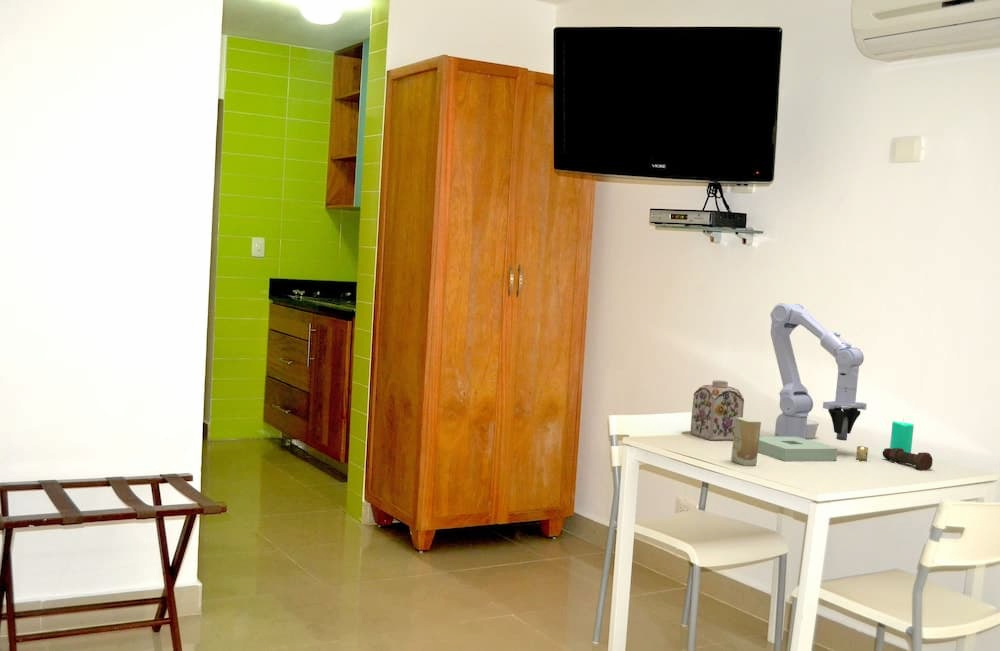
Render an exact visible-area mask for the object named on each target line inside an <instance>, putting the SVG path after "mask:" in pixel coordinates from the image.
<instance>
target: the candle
mask: <svg viewBox="0 0 1000 651" xmlns="http://www.w3.org/2000/svg"><path fill="white" fill-rule="evenodd" d="M891 424H892V426H891V431H890V432H891V433H890V443H889V444H890V446H889V448H890V449H893V448H902V449H903V450H904V452H908V453H912V446H913V436H914V435H913V433H914V426H915V425H914V423H908V422H904V418H902V422H900V421H896V420H895V421H894V420H893V421H892V423H891Z"/></svg>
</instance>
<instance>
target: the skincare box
mask: <svg viewBox="0 0 1000 651" xmlns="http://www.w3.org/2000/svg"><path fill="white" fill-rule="evenodd" d="M761 424H762V422H761V421H759V420H757V419H754V418H750V417H743V418H740V417H739V418H736V420H735V429H734V438H733V440H732V449H731V457H730V458H731V459H730V460H731V462H732V461H733V462H735V463H736V464H740V465H741V466H757V462H758V453H759V452H758V445H759V437H761V435H760V434H761V427H762V425H761Z"/></svg>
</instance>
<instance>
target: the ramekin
mask: <svg viewBox="0 0 1000 651" xmlns="http://www.w3.org/2000/svg"><path fill="white" fill-rule="evenodd" d="M819 424H820V423H819V422H818V421H816V420H812V419H807V425H806V436H805V439H807V440H813V439H815V437H816V435H817V430H818V427H819Z"/></svg>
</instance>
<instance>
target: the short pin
mask: <svg viewBox="0 0 1000 651" xmlns="http://www.w3.org/2000/svg"><path fill="white" fill-rule="evenodd" d="M868 452H869V447H868V446H863V445H857V446H856V454H855V461H856V460H859V461H858V462H860V461H867V462H868Z"/></svg>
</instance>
